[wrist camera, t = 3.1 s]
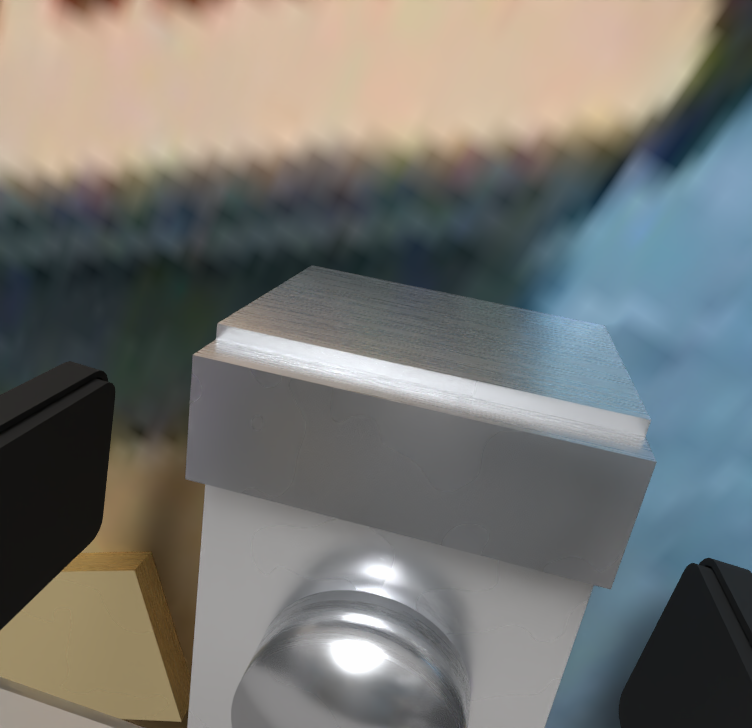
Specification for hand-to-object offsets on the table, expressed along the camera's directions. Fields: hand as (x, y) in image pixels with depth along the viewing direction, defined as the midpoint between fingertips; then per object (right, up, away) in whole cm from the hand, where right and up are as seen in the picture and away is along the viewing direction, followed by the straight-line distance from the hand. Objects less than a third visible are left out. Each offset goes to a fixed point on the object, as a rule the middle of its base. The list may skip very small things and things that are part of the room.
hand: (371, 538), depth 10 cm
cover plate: (-7, -3, +6) cm, 10 cm away
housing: (+1, +1, +2) cm, 2 cm away
